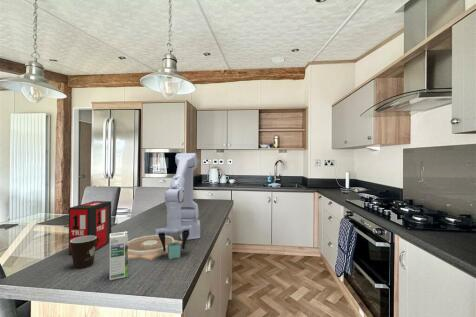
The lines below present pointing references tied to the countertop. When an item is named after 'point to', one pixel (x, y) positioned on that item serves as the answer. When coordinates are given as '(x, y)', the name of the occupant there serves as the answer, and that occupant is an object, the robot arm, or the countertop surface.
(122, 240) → the syrup box
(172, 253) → the bead
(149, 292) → the countertop surface
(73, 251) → the coffee mug
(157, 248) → the ring tray
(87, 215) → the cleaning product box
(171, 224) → the robot arm
